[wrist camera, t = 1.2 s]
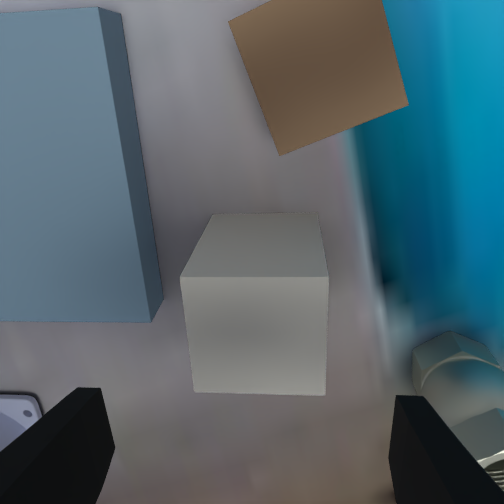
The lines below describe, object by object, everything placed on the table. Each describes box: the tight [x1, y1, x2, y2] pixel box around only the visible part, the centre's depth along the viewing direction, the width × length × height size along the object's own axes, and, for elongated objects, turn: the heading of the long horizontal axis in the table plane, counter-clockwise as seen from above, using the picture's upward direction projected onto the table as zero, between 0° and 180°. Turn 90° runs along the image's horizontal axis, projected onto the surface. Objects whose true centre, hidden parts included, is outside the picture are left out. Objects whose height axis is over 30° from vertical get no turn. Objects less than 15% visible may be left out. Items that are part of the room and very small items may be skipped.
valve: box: [412, 331, 504, 491], centre depth 19 cm, size 7×7×12 cm
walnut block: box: [228, 0, 409, 156], centre depth 14 cm, size 4×4×4 cm
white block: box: [180, 212, 329, 396], centre depth 16 cm, size 4×4×6 cm
